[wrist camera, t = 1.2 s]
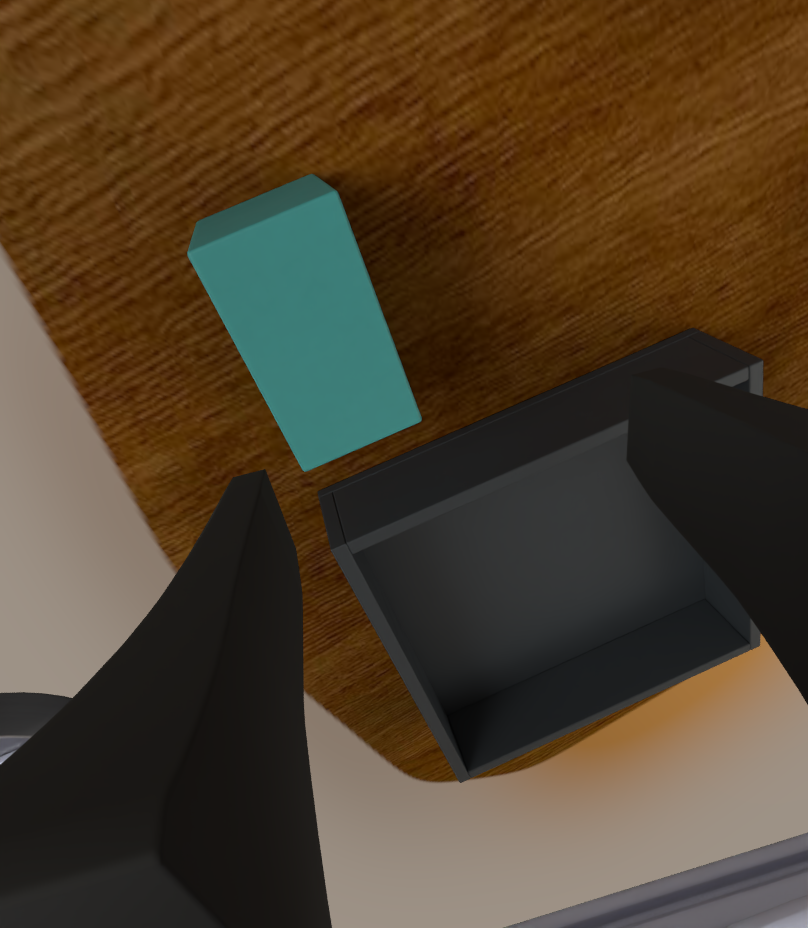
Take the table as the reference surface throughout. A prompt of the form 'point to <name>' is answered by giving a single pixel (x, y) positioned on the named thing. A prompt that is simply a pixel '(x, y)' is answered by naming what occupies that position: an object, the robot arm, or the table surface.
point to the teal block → (305, 319)
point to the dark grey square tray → (537, 565)
